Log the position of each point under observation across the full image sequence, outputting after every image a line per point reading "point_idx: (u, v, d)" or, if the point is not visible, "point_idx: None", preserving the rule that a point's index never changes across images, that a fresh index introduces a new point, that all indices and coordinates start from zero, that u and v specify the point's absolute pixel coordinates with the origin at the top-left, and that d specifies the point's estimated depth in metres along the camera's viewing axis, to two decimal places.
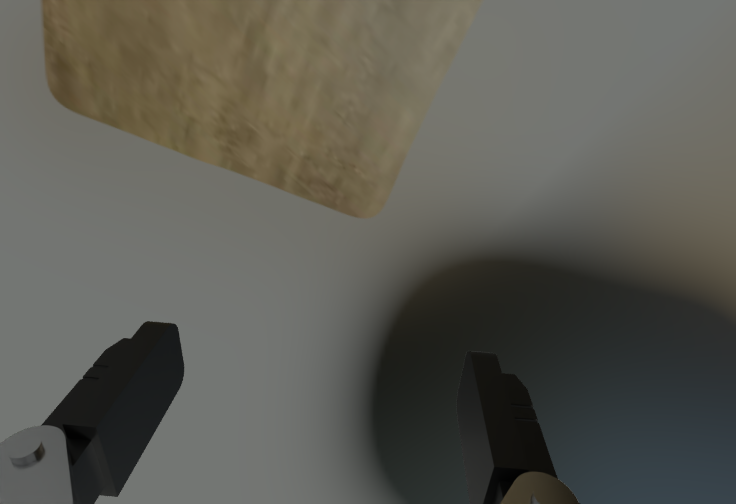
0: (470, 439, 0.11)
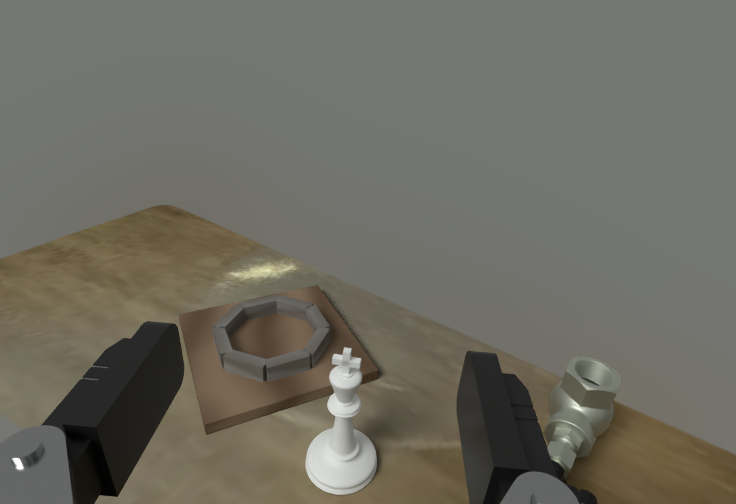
0: (470, 439, 0.11)
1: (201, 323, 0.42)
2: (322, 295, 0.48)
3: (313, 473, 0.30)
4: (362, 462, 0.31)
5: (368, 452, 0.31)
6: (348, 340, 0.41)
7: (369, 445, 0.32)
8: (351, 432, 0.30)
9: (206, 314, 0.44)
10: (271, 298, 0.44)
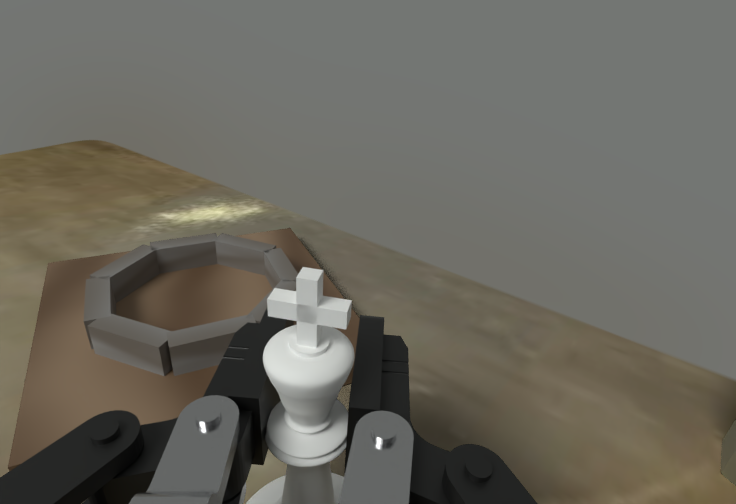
0: None
1: (82, 276, 0.25)
2: (296, 241, 0.30)
3: None
4: None
5: None
6: None
7: None
8: (328, 496, 0.12)
9: (96, 263, 0.26)
10: (207, 237, 0.26)
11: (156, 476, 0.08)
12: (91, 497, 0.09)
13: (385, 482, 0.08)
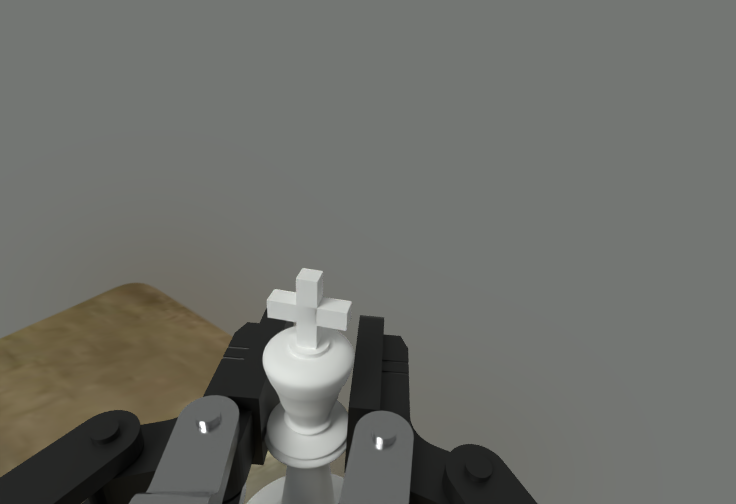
0: None
1: None
2: None
3: None
4: None
5: None
6: None
7: None
8: (328, 497, 0.12)
9: None
10: None
11: (156, 476, 0.08)
12: (91, 496, 0.09)
13: (385, 481, 0.08)
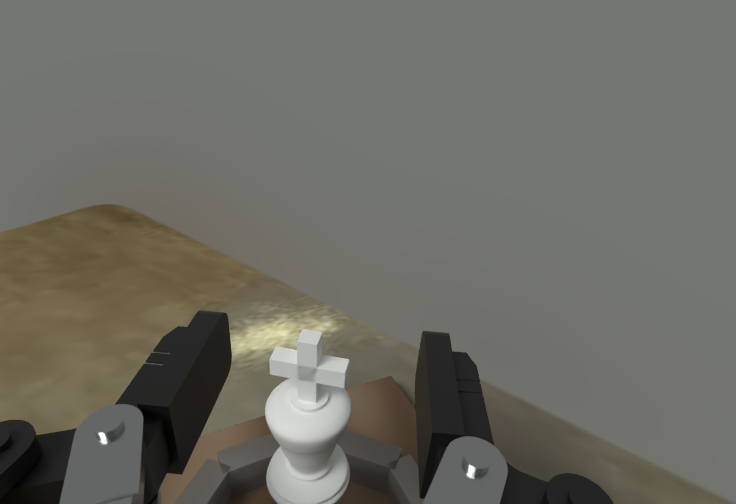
0: (421, 413, 0.12)
1: None
2: (407, 405, 0.21)
3: None
4: None
5: None
6: None
7: None
8: None
9: None
10: None
11: (63, 496, 0.08)
12: None
13: None
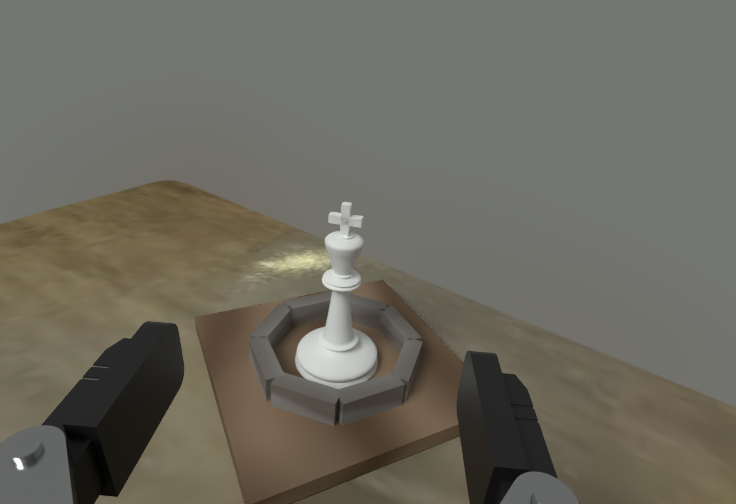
0: (470, 439, 0.11)
1: (229, 330, 0.29)
2: (392, 293, 0.34)
3: (304, 365, 0.26)
4: (361, 356, 0.26)
5: (368, 347, 0.27)
6: (446, 358, 0.28)
7: (369, 342, 0.28)
8: (349, 317, 0.26)
9: (234, 317, 0.30)
10: (328, 296, 0.31)
11: None
12: None
13: None
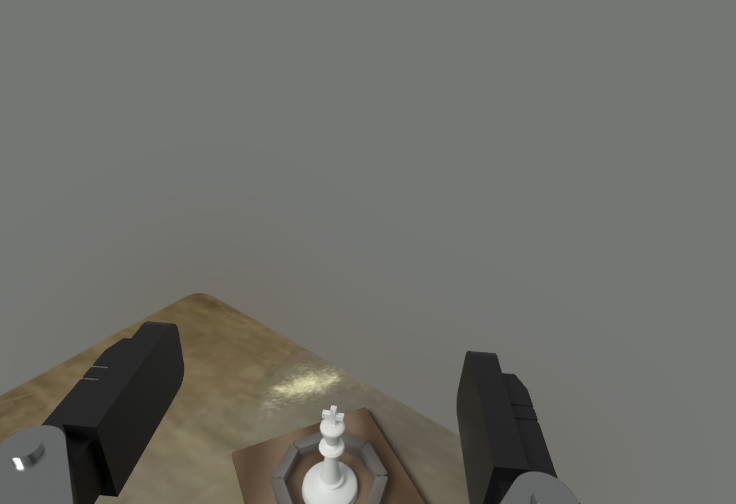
0: (470, 439, 0.11)
1: (256, 464, 0.42)
2: (371, 421, 0.47)
3: (307, 499, 0.39)
4: (345, 490, 0.39)
5: (351, 481, 0.40)
6: (405, 485, 0.41)
7: (352, 476, 0.41)
8: (337, 467, 0.39)
9: (259, 451, 0.43)
10: None
11: None
12: None
13: None
